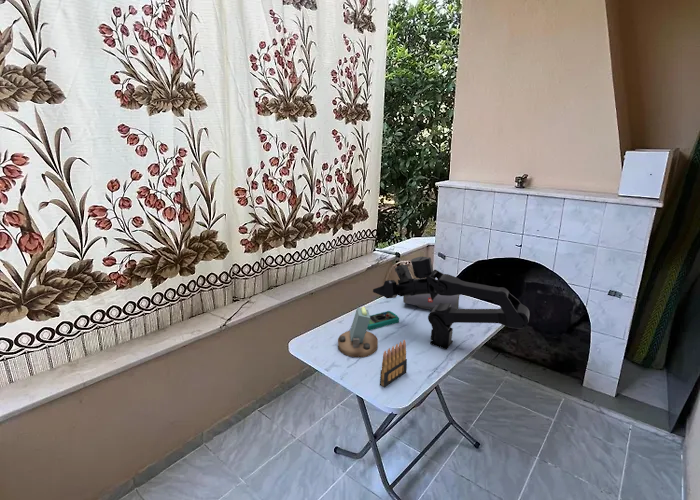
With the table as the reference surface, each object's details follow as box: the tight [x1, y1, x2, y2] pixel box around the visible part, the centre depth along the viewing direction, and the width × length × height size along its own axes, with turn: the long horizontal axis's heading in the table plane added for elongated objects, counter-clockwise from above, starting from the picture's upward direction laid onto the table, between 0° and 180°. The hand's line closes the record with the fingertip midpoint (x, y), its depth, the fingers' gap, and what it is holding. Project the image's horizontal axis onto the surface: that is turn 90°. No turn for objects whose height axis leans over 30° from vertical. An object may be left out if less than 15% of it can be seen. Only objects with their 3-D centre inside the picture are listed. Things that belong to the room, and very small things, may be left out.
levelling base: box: [337, 330, 379, 359], centre depth 133 cm, size 14×14×6 cm
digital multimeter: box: [367, 310, 400, 331], centre depth 150 cm, size 7×15×3 cm, turn 118°
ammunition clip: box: [379, 339, 408, 389], centre depth 115 cm, size 11×2×12 cm, turn 134°
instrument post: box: [349, 306, 371, 343], centre depth 131 cm, size 4×6×11 cm, turn 5°
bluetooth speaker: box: [402, 294, 460, 311], centre depth 161 cm, size 23×9×10 cm, turn 73°
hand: (378, 290), depth 143 cm, fingers open, 9 cm apart
